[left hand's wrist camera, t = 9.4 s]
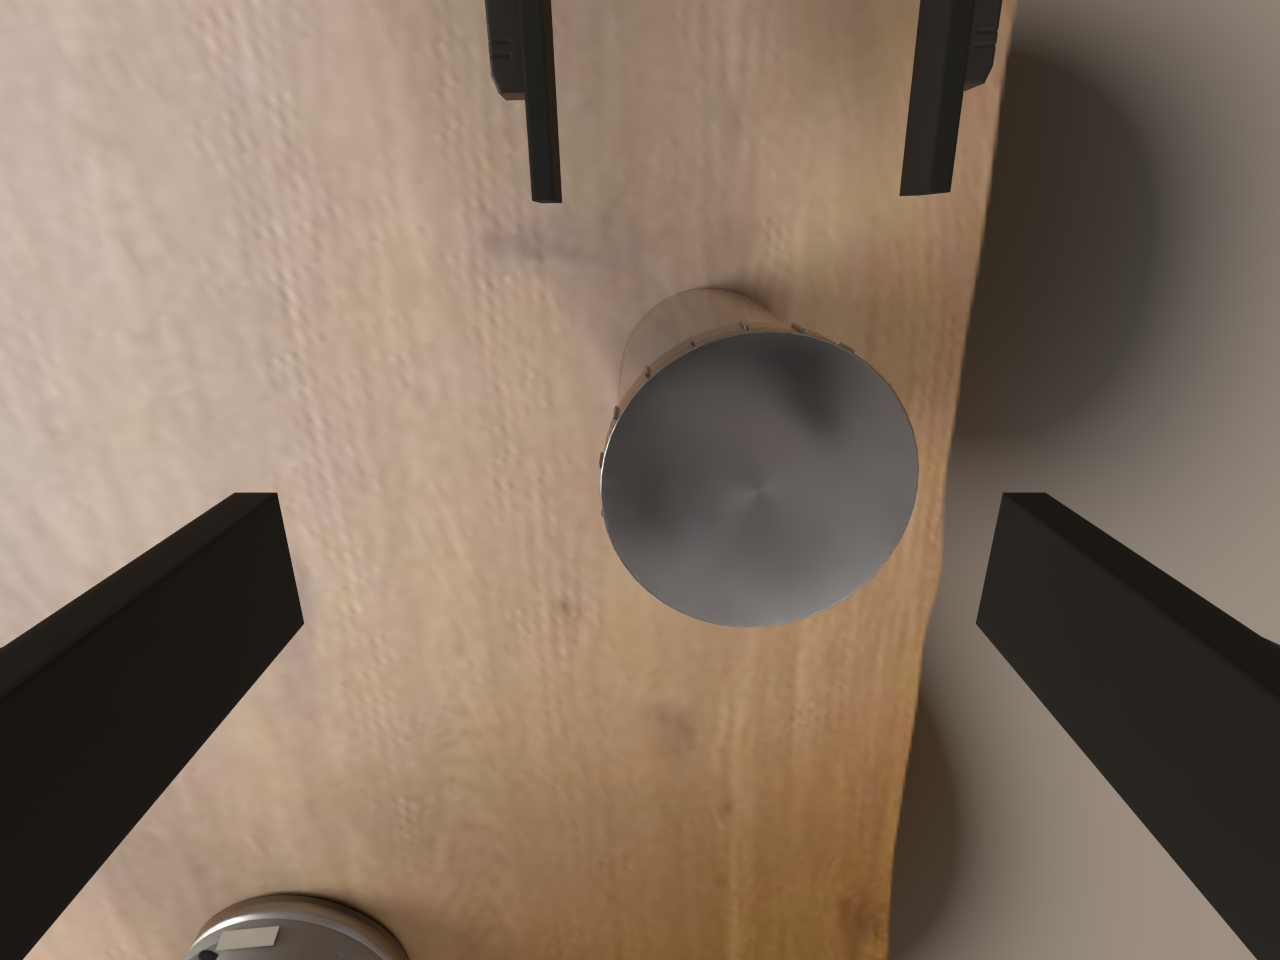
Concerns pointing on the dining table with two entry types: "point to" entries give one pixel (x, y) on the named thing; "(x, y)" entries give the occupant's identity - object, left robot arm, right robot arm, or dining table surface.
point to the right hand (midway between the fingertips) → (735, 199)
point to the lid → (757, 475)
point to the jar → (684, 326)
